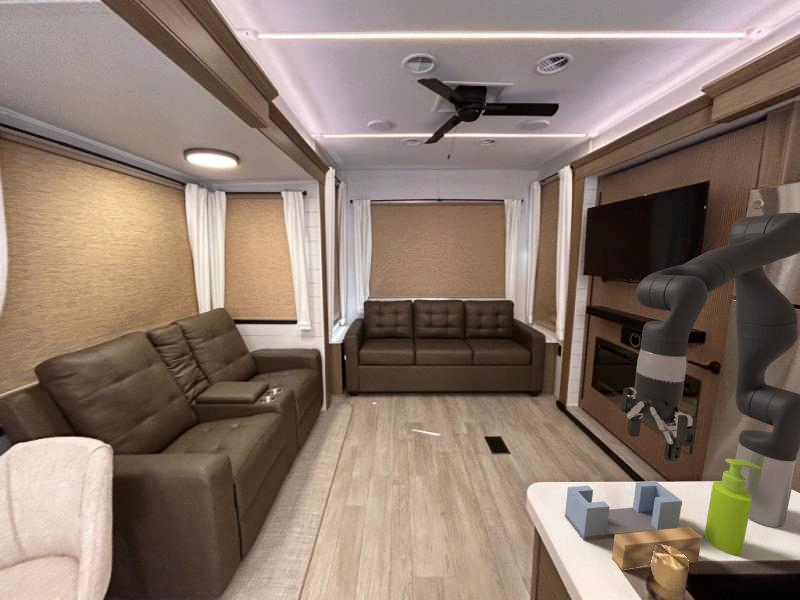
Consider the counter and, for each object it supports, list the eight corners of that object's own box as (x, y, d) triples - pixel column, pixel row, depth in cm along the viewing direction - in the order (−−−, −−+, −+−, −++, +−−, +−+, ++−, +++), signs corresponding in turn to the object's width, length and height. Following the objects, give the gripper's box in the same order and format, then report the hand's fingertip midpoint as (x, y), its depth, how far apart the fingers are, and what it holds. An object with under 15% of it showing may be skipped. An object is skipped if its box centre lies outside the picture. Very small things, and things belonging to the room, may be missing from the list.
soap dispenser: (756, 559, 65) (772, 473, 63) (717, 552, 67) (732, 468, 64) (732, 535, 71) (746, 455, 69) (697, 529, 72) (710, 451, 70)
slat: (685, 551, 67) (689, 526, 66) (697, 562, 65) (702, 537, 64) (611, 559, 65) (614, 534, 64) (621, 571, 62) (625, 545, 62)
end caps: (651, 509, 78) (655, 480, 77) (677, 531, 72) (682, 500, 71) (564, 516, 75) (567, 486, 74) (583, 540, 69) (587, 508, 68)
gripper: (715, 386, 55) (702, 468, 58) (645, 361, 70) (637, 428, 72) (677, 388, 55) (666, 471, 57) (615, 362, 69) (608, 429, 71)
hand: (650, 447), depth 64 cm, fingers open, 8 cm apart
